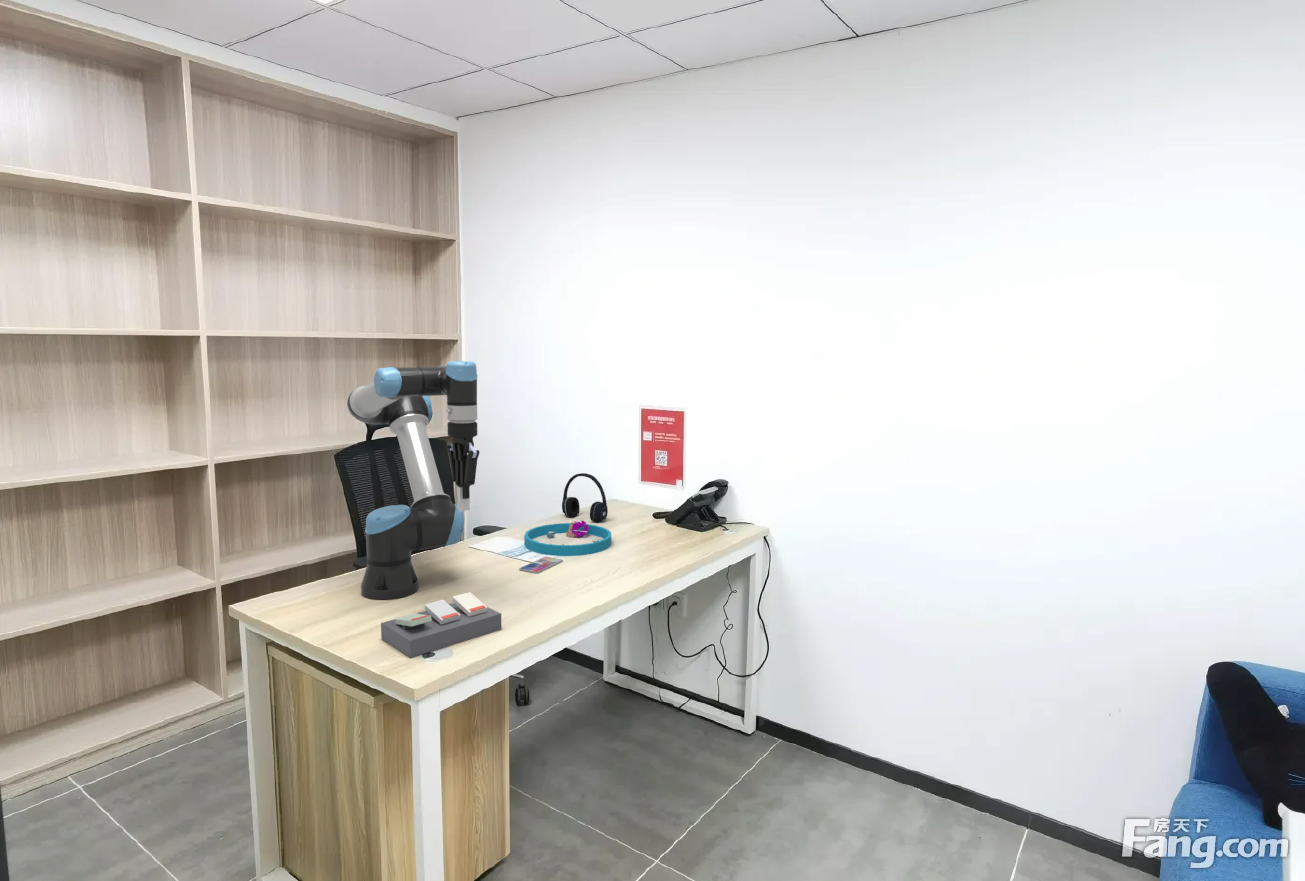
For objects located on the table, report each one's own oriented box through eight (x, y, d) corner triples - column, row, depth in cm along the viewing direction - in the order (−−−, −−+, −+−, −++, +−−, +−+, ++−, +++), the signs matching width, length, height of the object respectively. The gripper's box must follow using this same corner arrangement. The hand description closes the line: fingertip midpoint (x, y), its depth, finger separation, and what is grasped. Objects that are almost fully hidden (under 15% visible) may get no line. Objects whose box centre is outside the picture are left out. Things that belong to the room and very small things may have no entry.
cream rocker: (451, 600, 183) (452, 596, 183) (469, 596, 187) (470, 591, 186) (469, 616, 178) (469, 611, 178) (486, 611, 181) (487, 606, 181)
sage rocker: (395, 624, 172) (394, 618, 172) (415, 618, 176) (414, 612, 176) (411, 626, 167) (410, 620, 167) (431, 620, 170) (430, 614, 170)
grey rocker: (424, 608, 178) (424, 603, 177) (442, 603, 181) (443, 598, 181) (441, 624, 173) (441, 619, 172) (460, 619, 176) (460, 614, 176)
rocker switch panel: (371, 633, 177) (371, 614, 177) (460, 608, 194) (459, 591, 194) (410, 657, 164) (409, 637, 164) (501, 629, 181) (501, 610, 181)
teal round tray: (619, 536, 269) (619, 520, 268) (599, 560, 240) (599, 542, 239) (540, 531, 274) (540, 515, 273) (511, 553, 245) (511, 536, 244)
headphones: (559, 517, 294) (559, 472, 291) (570, 514, 300) (570, 469, 297) (599, 525, 283) (599, 478, 281) (609, 521, 289) (610, 475, 286)
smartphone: (564, 559, 237) (537, 572, 223) (564, 562, 237) (537, 575, 223) (545, 555, 240) (517, 568, 226) (545, 558, 240) (517, 571, 227)
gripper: (437, 419, 193) (438, 507, 196) (461, 424, 183) (463, 517, 187) (463, 417, 198) (464, 503, 201) (488, 422, 189) (489, 512, 192)
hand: (463, 510), depth 194 cm, fingers closed
